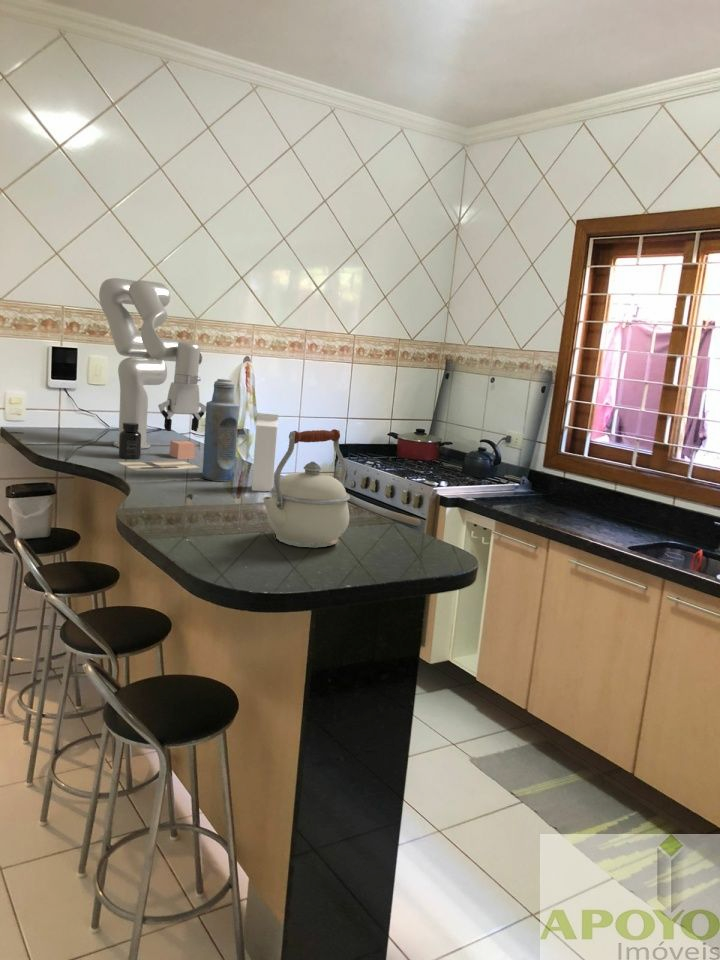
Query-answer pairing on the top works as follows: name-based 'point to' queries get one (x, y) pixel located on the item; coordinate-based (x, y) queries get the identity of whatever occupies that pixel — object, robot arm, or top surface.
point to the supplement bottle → (130, 442)
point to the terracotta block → (182, 449)
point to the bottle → (221, 433)
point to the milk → (264, 452)
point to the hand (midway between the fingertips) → (181, 430)
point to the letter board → (159, 465)
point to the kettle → (309, 497)
